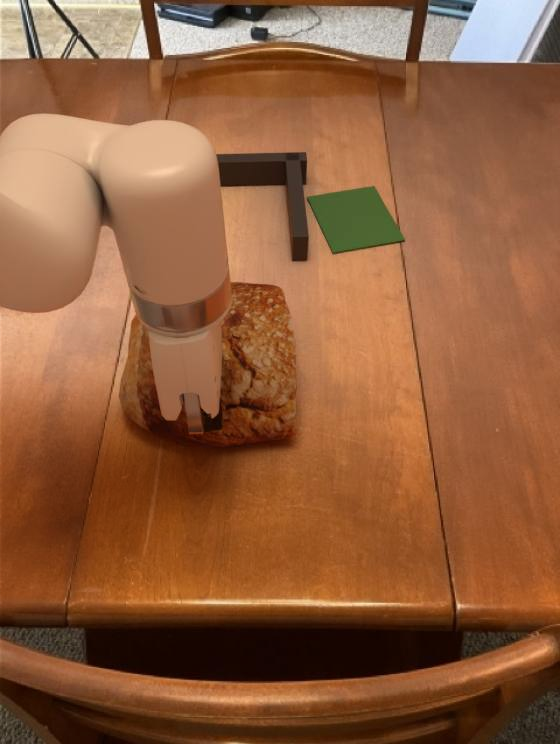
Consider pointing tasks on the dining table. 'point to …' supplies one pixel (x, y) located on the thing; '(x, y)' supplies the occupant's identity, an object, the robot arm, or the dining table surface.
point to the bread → (228, 375)
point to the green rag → (354, 219)
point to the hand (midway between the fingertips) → (206, 423)
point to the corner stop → (274, 172)
